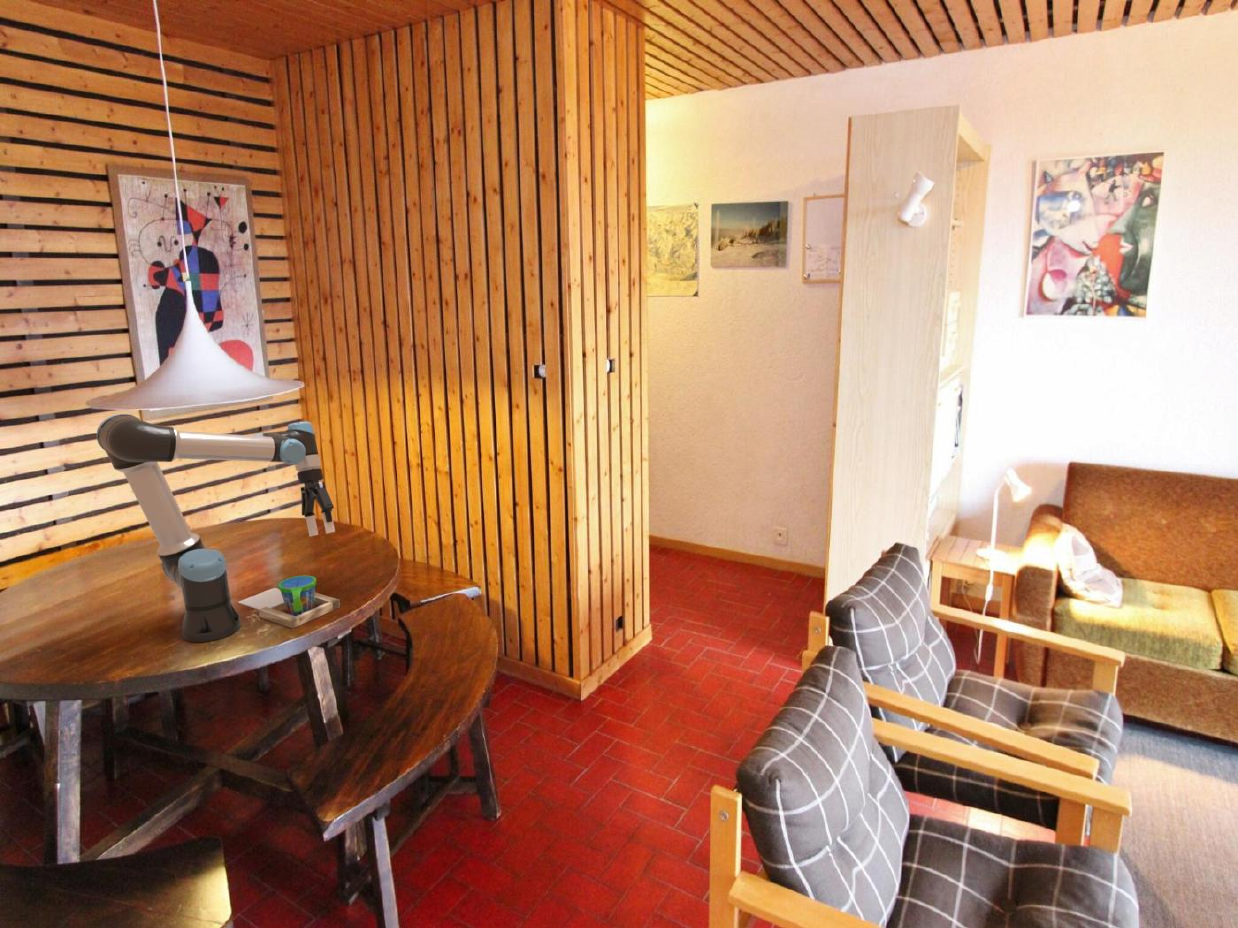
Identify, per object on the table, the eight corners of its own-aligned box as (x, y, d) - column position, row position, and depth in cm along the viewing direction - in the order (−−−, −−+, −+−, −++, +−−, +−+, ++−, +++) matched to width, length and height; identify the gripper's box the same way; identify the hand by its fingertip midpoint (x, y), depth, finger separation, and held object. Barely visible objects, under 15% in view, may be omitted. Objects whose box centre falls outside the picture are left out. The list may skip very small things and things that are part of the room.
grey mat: (263, 611, 231) (263, 610, 231) (237, 603, 238) (237, 601, 238) (300, 596, 242) (299, 595, 242) (274, 588, 249) (274, 587, 248)
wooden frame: (292, 628, 220) (291, 620, 219) (259, 617, 227) (258, 609, 227) (340, 607, 234) (339, 599, 233) (307, 597, 242) (306, 589, 241)
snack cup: (287, 603, 237) (283, 573, 234) (322, 600, 239) (319, 570, 237) (277, 625, 222) (273, 593, 220) (315, 621, 224) (311, 589, 222)
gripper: (336, 462, 236) (349, 528, 236) (305, 473, 254) (318, 534, 254) (312, 466, 231) (326, 533, 231) (283, 476, 249) (296, 539, 249)
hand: (322, 534), depth 242 cm, fingers open, 13 cm apart
